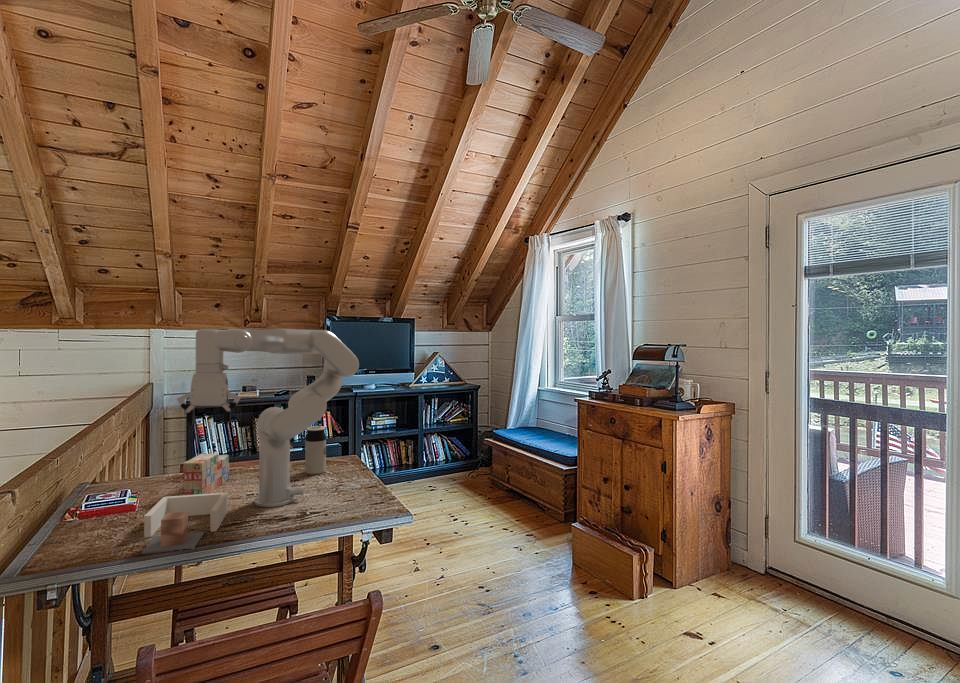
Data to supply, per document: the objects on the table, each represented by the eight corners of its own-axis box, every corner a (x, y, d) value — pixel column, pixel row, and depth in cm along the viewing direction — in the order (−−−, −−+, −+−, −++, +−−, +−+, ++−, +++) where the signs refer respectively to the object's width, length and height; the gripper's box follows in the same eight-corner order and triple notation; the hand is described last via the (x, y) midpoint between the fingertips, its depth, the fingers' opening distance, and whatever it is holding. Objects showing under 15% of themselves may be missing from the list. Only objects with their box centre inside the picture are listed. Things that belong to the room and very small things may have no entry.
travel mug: (301, 473, 196) (301, 429, 196) (311, 468, 204) (311, 425, 204) (319, 475, 195) (320, 430, 195) (329, 469, 203) (329, 426, 202)
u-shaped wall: (228, 510, 156) (228, 492, 156) (216, 531, 141) (216, 510, 141) (163, 516, 151) (163, 496, 151) (144, 537, 136) (144, 516, 136)
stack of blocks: (212, 479, 188) (212, 447, 188) (229, 479, 189) (229, 447, 189) (182, 498, 167) (183, 462, 167) (201, 498, 168) (202, 462, 167)
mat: (204, 533, 139) (204, 531, 139) (194, 549, 129) (194, 547, 129) (155, 538, 136) (155, 536, 136) (141, 554, 126) (141, 552, 126)
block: (187, 536, 136) (187, 511, 135) (182, 544, 131) (182, 518, 131) (167, 538, 134) (167, 513, 134) (160, 546, 129) (160, 520, 129)
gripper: (242, 367, 158) (242, 421, 158) (181, 368, 153) (181, 423, 153) (238, 369, 150) (237, 425, 151) (173, 370, 146) (173, 427, 146)
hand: (209, 424), depth 152 cm, fingers open, 9 cm apart
